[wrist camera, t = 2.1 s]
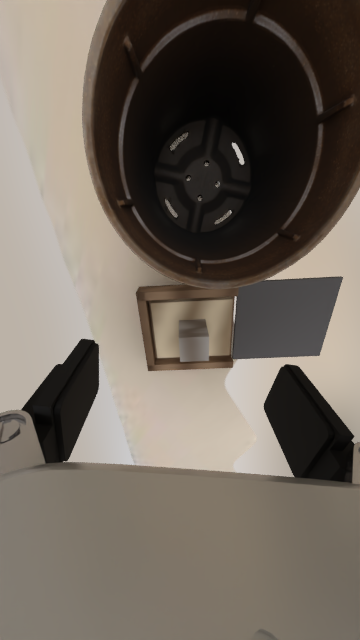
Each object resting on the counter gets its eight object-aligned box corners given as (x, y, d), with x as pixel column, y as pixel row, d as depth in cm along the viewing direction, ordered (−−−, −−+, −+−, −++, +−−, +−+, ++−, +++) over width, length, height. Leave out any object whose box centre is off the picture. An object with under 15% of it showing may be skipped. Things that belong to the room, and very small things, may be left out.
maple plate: (231, 296, 33) (241, 314, 27) (227, 350, 37) (236, 376, 32) (151, 300, 33) (145, 319, 27) (158, 353, 38) (154, 379, 32)
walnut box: (234, 282, 32) (238, 287, 30) (229, 357, 39) (232, 367, 36) (139, 286, 32) (136, 293, 30) (150, 361, 39) (148, 371, 37)
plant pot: (210, 38, 21) (274, -322, 7) (298, 179, 26) (440, 148, 12) (108, 180, 26) (23, 150, 12) (199, 273, 32) (215, 329, 17)
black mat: (341, 276, 32) (343, 277, 31) (318, 354, 38) (319, 355, 38) (237, 281, 32) (238, 282, 32) (232, 357, 39) (232, 359, 38)
